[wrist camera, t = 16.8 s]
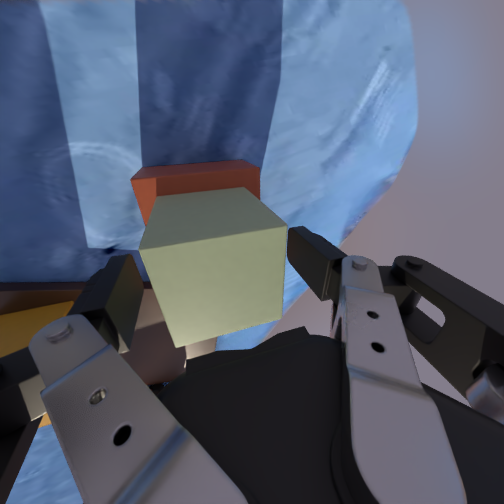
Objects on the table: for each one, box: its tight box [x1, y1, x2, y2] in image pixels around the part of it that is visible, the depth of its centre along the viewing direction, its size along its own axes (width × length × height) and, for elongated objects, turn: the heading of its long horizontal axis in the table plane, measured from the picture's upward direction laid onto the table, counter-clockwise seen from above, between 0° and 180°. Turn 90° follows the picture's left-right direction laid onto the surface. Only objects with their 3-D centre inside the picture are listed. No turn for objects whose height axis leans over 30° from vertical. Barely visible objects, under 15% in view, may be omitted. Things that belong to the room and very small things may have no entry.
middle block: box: [138, 187, 287, 348], centre depth 10 cm, size 5×5×6 cm
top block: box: [0, 301, 74, 428], centre depth 14 cm, size 5×5×6 cm
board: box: [0, 282, 218, 385], centre depth 20 cm, size 18×14×1 cm
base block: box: [130, 160, 260, 226], centre depth 15 cm, size 7×7×4 cm
